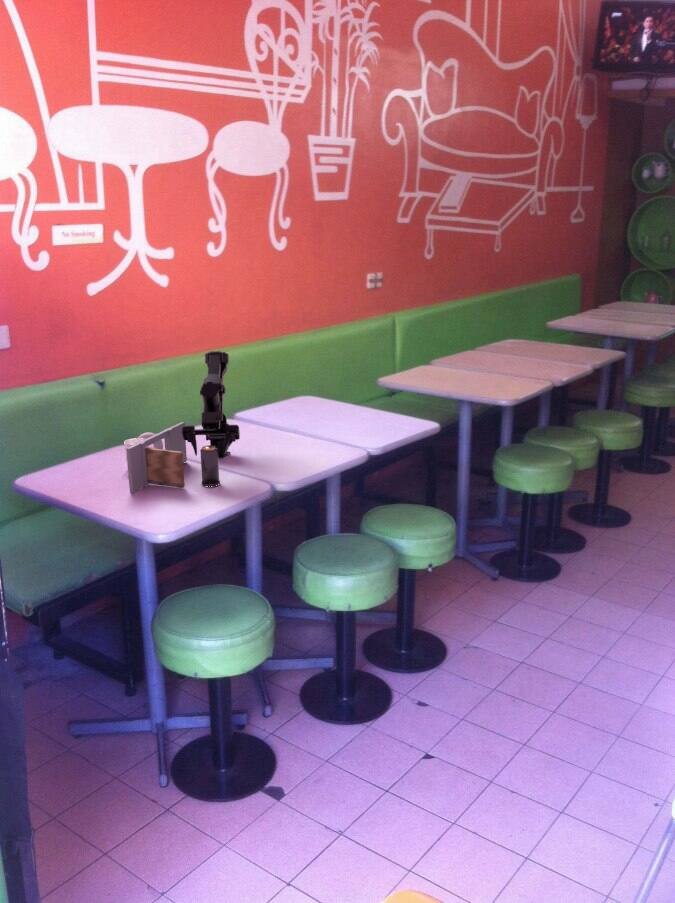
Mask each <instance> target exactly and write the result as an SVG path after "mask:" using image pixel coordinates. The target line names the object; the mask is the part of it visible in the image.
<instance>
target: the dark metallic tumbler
mask: <svg viewBox="0 0 675 903" xmlns="http://www.w3.org/2000/svg"><path fill="white" fill-rule="evenodd" d="M199 452H200V466H201V467H200V469H201V486H202V485H203V486H208V487H207V488H212V487H211V486H216V485H218V484H220V485H221V480H220V469H219V467H220V466H219V457H218V449H217V448H216V446H213V445H210V444H209V445H204V446H202V448H201V449H200V450H199ZM203 486H202V487H203ZM209 486H210V487H209Z"/></svg>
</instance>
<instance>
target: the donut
mask: <svg viewBox="0 0 675 903" xmlns="http://www.w3.org/2000/svg"><path fill="white" fill-rule="evenodd" d="M156 434H157V433H155V432H148V431H147V432H143V433H142V434H140V435H139V436H138V437H137V438H143V439H147V438H149V437H151V436H153V435H156ZM162 440H163V439H161V440H159V441H157V442H155V443H153V444H152V445H153V447H152V448H154V449H163V450H164V444H163V441H162Z"/></svg>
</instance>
